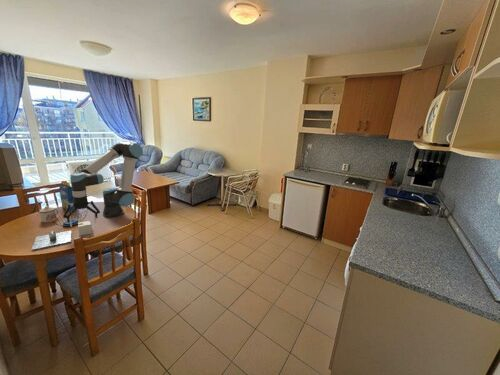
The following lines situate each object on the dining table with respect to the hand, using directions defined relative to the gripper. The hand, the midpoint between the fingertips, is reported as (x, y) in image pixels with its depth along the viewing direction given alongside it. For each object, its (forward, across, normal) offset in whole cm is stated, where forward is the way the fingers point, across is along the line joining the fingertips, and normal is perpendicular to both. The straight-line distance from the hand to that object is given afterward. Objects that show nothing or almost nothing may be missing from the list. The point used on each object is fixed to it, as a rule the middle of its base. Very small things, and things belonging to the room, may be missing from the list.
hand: (83, 224), depth 149 cm
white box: (+7, 0, 0) cm, 7 cm away
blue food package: (+6, +10, -58) cm, 59 cm away
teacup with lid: (+7, +20, -37) cm, 43 cm away
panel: (+7, +16, +3) cm, 18 cm away
